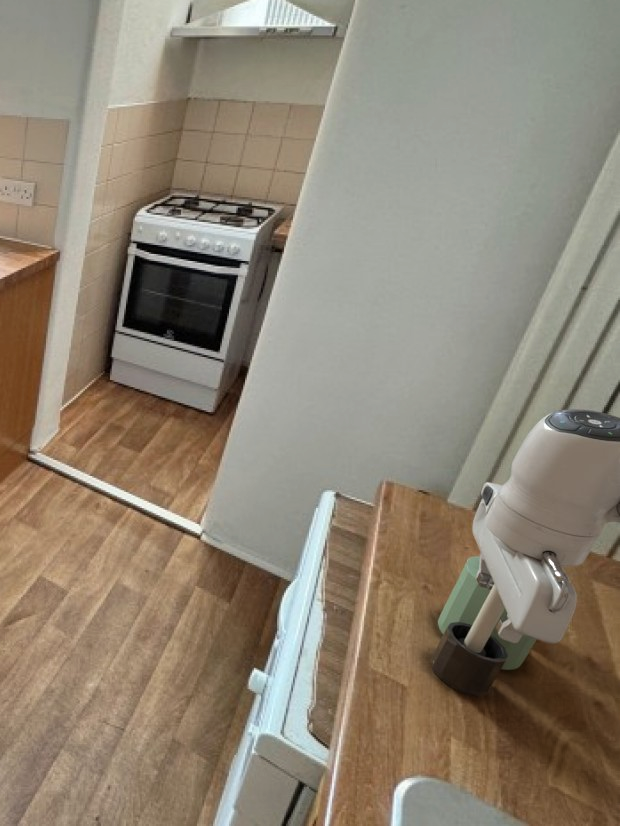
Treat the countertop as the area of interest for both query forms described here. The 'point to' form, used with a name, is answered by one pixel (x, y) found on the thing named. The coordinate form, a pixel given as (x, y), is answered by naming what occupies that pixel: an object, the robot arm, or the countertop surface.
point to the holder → (467, 662)
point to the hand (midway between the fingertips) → (494, 609)
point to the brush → (484, 623)
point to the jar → (467, 607)
